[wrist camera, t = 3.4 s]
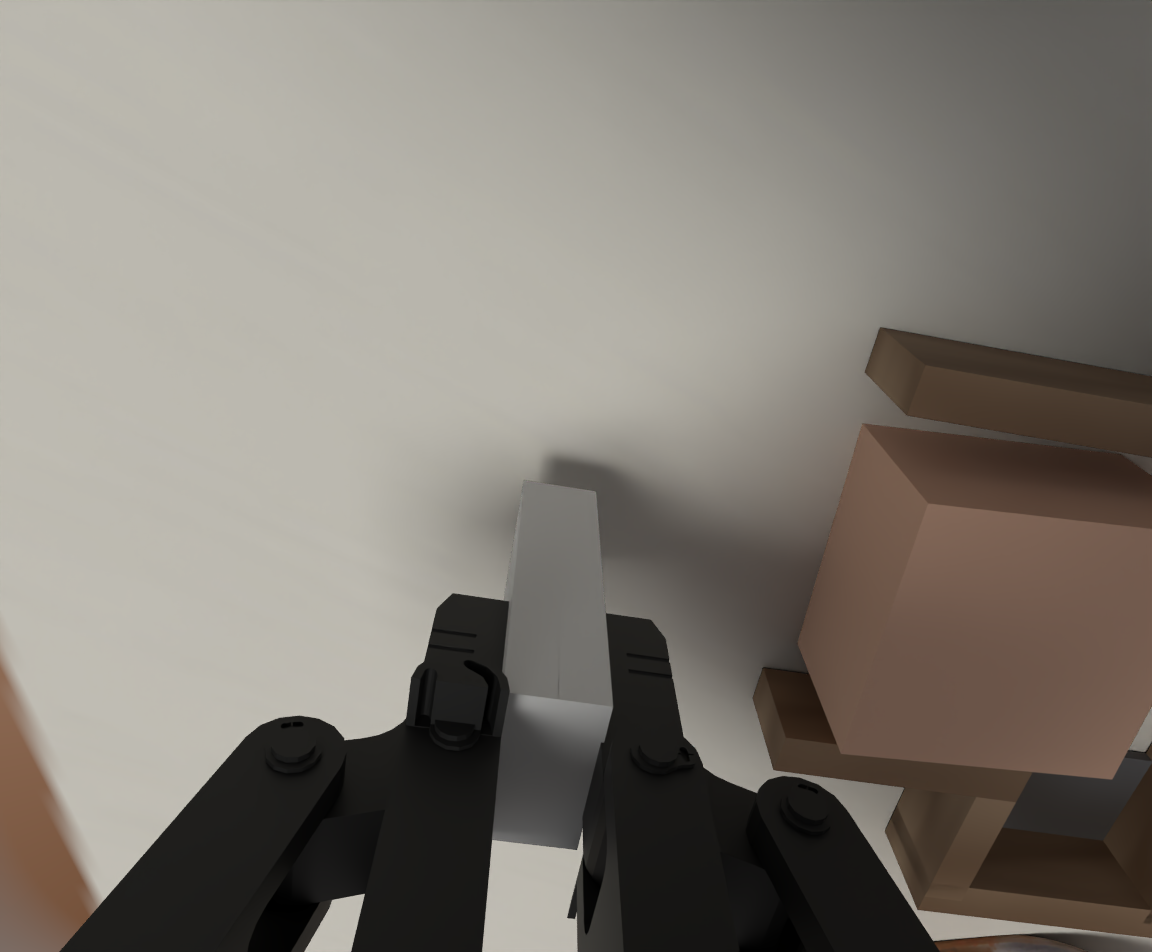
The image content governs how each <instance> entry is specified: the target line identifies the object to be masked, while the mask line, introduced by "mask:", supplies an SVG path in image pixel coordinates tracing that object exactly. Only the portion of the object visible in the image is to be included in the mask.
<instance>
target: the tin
mask: <svg viewBox="0 0 1152 952" xmlns="http://www.w3.org/2000/svg"><path fill="white" fill-rule="evenodd" d="M934 943H935V945H936V946H937V948H938V949H939V951H940V952H1087V951H1085V950H1083V949H1079V948H1077V947H1074V946H1071V945H1068V944H1065V943H1062V942H1058V941H1055V940H1051V939H1045V938H1039V937H1034V936H1026V935H1001V936H989V937H980V938H969V939H959V940H949V941H939V942H934Z"/></svg>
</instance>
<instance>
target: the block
mask: <svg viewBox="0 0 1152 952" xmlns="http://www.w3.org/2000/svg"><path fill="white" fill-rule="evenodd" d="M797 644H798V646H799V649H800V651H801V654H802V656H803V659H804V662H805V664H806V667H807V669H808V672H809V674H810V677H811V679H812V682H813V684H814V687H815V689H816V692H817V694H818V697H819V700H820V702H821V705H822V707H823V710H824V712H825V715H826V717H827V720H828V722H829V725H830V727H831V730H832V732H833V735H834V737H835V740H836V743H837V745H838V748H839V750H840V753H841V754H847V755H858V756H868V757H879V758H890V759H900V760H911V761H921V762H932V763H942V764H953V765H964V766H974V767H985V768H995V769H1006V770H1016V771H1027V772H1038V773H1048V774H1059V775H1069V776H1080V777H1090V778H1101V779H1113V777H1114V775H1115V773H1116V772H1117V770H1118V768H1119V766H1120V764H1121V762H1122V761H1123V759H1124V757H1125V755H1126V753H1127V751H1128V749H1129V748H1130V746H1131V744H1132V742H1133V740H1134V738H1135V736H1136V735H1137V733H1138V731H1139V729H1140V727H1141V725H1142V723H1143V722H1144V720H1145V718H1146V716H1147V714H1148V712H1149V711H1150V709H1151V707H1152V476H1151V475H1150V474H1148V473H1147V472H1145V471H1144V470H1143V469H1141V468H1140V467H1138V466H1137V465H1135V464H1134V463H1133V462H1131V461H1130V460H1128V459H1127V458H1125V457H1124V456H1123V455H1121V454H1114V453H1106V452H1097V451H1089V450H1080V449H1072V448H1064V447H1055V446H1047V445H1038V444H1030V443H1022V442H1013V441H1005V440H996V439H988V438H980V437H971V436H963V435H954V434H946V433H938V432H929V431H921V430H912V429H904V428H896V427H887V426H879V425H870V424H862V427H861V430H860V433H859V437H858V440H857V443H856V447H855V450H854V454H853V457H852V460H851V464H850V467H849V470H848V474H847V477H846V481H845V484H844V487H843V491H842V494H841V497H840V501H839V504H838V508H837V511H836V514H835V518H834V521H833V524H832V528H831V531H830V535H829V538H828V541H827V545H826V548H825V552H824V555H823V558H822V562H821V565H820V568H819V572H818V575H817V579H816V582H815V585H814V589H813V592H812V595H811V599H810V602H809V606H808V609H807V612H806V616H805V619H804V622H803V626H802V629H801V633H800V636H799V639H798V643H797Z"/></svg>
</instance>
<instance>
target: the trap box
mask: <svg viewBox="0 0 1152 952" xmlns="http://www.w3.org/2000/svg"><path fill="white" fill-rule="evenodd" d="M865 373H866V374H867V375H868V376H869V377H870V378H871V379H872V380H873V381H874V382H875V383H876V384H877V385H878V386H879V387H880V389H881V390H882V391H883V392H884V393H885V394H886V395H887V396H888V397H889V398H890V399H891V400H892V401H893V402H894V403H895V404H896V405H897V406H898V407H899V408H900V409H901V410H902V411H903V412H904V413H905V414H906V415H907V416H913V417H919V418H924V419H930V420H936V421H942V422H948V423H954V424H959V425H965V426H971V427H977V428H983V429H988V430H994V431H1000V432H1006V433H1012V434H1018V435H1023V436H1029V437H1035V438H1041V439H1047V440H1052V441H1058V442H1064V443H1070V444H1076V445H1082V446H1087V447H1093V448H1099V449H1105V450H1111V451H1117V452H1122V453H1128V454H1134V455H1140V456H1146V457H1151V458H1152V376H1146V375H1141V374H1135V373H1130V372H1124V371H1119V370H1113V369H1107V368H1102V367H1096V366H1091V365H1085V364H1080V363H1074V362H1069V361H1063V360H1058V359H1052V358H1047V357H1041V356H1035V355H1030V354H1024V353H1019V352H1013V351H1008V350H1002V349H997V348H991V347H986V346H980V345H974V344H969V343H963V342H958V341H952V340H947V339H941V338H936V337H930V336H925V335H919V334H914V333H908V332H902V331H897V330H891V329H886V328H880V330H879V333H878V335H877V338H876V341H875V344H874V347H873V350H872V353H871V356H870V359H869V362H868V365H867V367H866V370H865ZM753 701H754V705H755V708H756V711H757V715H758V718H759V722H760V725H761V729H762V732H763V735H764V739H765V742H766V746H767V749H768V753H769V756H770V759H771V763H772V766H773V770H776V771H784V772H791V773H799V774H806V775H814V776H821V777H829V778H836V779H844V780H851V781H859V782H866V783H874V784H881V785H889V786H897V787H904V788H905V790H904V792H903V794H902V796H901V798H900V800H899V802H898V804H897V807H896V809H895V811H894V813H893V815H892V817H891V819H890V821H889V824H888V826H887V828H886V830H885V832H886V835H887V837H888V840H889V842H890V844H891V847H892V849H893V852H894V854H895V856H896V859H897V861H898V864H899V866H900V868H901V871H902V873H903V876H904V878H905V881H906V883H907V885H908V888H909V890H910V893H911V895H912V897H913V900H914V902H915V905H916V907H917V910H924V911H932V912H941V913H949V914H957V915H966V916H974V917H982V918H990V919H999V920H1007V921H1015V922H1024V923H1032V924H1040V925H1049V926H1057V927H1065V928H1073V929H1082V930H1090V931H1098V932H1107V933H1115V934H1123V935H1131V936H1140V937H1148V938H1152V744H1151V746H1150V748H1149V749H1148V751H1147V752H1146V753H1140V752H1133V751H1127V753H1126V755H1125V757H1124V759H1123V761H1122V762H1121V764H1120V766H1119V768H1118V770H1117V772H1116V773H1115V775H1114V777H1113V779H1101V778H1090V777H1080V776H1069V775H1059V774H1048V773H1038V772H1027V771H1016V770H1006V769H995V768H985V767H974V766H964V765H953V764H942V763H932V762H921V761H911V760H900V759H890V758H879V757H868V756H858V755H847V754H841V753H840V750H839V748H838V745H837V743H836V740H835V737H834V735H833V732H832V730H831V727H830V725H829V722H828V720H827V717H826V715H825V712H824V710H823V707H822V705H821V702H820V700H819V697H818V694H817V692H816V689H815V687H814V684H813V682H812V679H811V677H810V674H803V673H796V672H789V671H782V670H775V669H768V668H763V670H762V673H761V675H760V678H759V681H758V684H757V687H756V690H755V693H754V696H753Z"/></svg>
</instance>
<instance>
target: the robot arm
mask: <svg viewBox="0 0 1152 952" xmlns="http://www.w3.org/2000/svg"><path fill="white" fill-rule="evenodd" d="M582 828H583V857H582V861H581V865H580V869H579V873H578V876H577V880H576V884H575V888H574V892H573V896H572V900H571V904H570V908H569V913H568V917H567V918H572V919H575V917H576V913H577V943H578V952H940V951H939V949H938V948H937V946H936V945H935V943H934V942H933V940H932V939H931V937H930V936H929V934H928V932H927V931H926V929H925V928H924V926H923V925H922V923H921V922H920V920H919V919H918V917H917V916H916V914H915V913H914V911H913V910H912V908H911V907H910V905H909V904H908V902H907V901H906V899H905V898H904V896H903V894H902V893H901V891H900V890H899V888H898V887H897V885H896V884H895V882H894V881H893V879H892V878H891V876H890V875H889V873H888V872H887V870H886V869H885V867H884V866H883V864H882V863H881V861H880V860H879V858H878V856H877V855H876V853H875V852H874V850H873V849H872V847H871V846H870V844H869V843H868V841H867V840H866V838H865V837H864V835H863V834H862V832H861V831H860V829H859V828H858V826H857V825H856V823H855V822H854V820H853V818H852V817H851V815H850V814H849V812H848V811H847V809H846V808H845V807H844V806H843V805H842V804H841V803H840V802H839V800H838V799H837V798H836V797H835V796H834V795H832V794H831V793H829V792H828V791H827V790H825V789H824V788H822V787H821V786H819V785H818V784H815V783H812V782H810V781H807V780H804V779H802V778H797V777H787V776H781V777H777V778H773V779H769V780H768V781H766V782H765V783H764V784H763V785H762V786H761V787H760V788H759V790H758V793H755V792H753V791H750V790H747V789H745V788H742V787H740V786H737V785H734V784H732V783H729V782H727V781H725V780H723V779H721V778H719V777H717V776H715V775H713V774H712V773H711V772H709V771H708V770H706V769H705V768H703V764H702V761H701V759H700V757H699V755H698V752H697V750H696V749H695V748H694V747H693V746H692V745H691V744H690V743H689V742H688V741H687V740H686V739H685V738H684V737H683V732H682V726H681V721H680V715H679V710H678V704H677V699H676V693H675V688H674V682H673V679H672V671H671V666H670V663H669V655H668V649H667V644H666V639H665V638H664V636H663V635H662V634H661V632H660V631H659V630H658V628H657V627H656V626H655V624H654V623H653V622H652V620H649V619H642V618H635V617H628V616H621V615H614V614H607V613H606V610H605V598H604V585H603V572H602V560H601V547H600V535H599V522H598V509H597V497H596V491H590V490H584V489H578V488H571V487H565V486H559V485H552V484H546V483H539V482H533V481H527V480H524V482H523V488H522V494H521V499H520V505H519V511H518V517H517V523H516V529H515V534H514V540H513V546H512V552H511V558H510V564H509V569H508V575H507V581H506V587H505V593H504V601H503V600H496V599H489V598H482V597H475V596H468V595H461V594H454V593H453V594H452V595H451V596H449V597H448V598H447V599H446V600H445V601H444V602H443V603H442V604H441V605H440V606H439V607H438V608H437V610H436V614H435V618H434V623H433V627H432V632H431V635H430V639H429V644H428V648H427V652H426V656H425V660H424V662H423V663H422V664H420V665H419V666H418V667H417V668H416V670H415V672H414V674H413V675H412V677H411V684H410V692H409V700H408V709H407V717H406V719H405V720H404V721H403V722H402V723H401V724H399V725H398V726H397V727H395V728H394V729H392V730H390V731H387V732H385V733H383V734H380V735H377V736H372V737H367V738H361V739H353V740H345V741H344V738H343V736H342V735H341V734H340V733H339V732H338V730H337V729H336V728H335V727H334V726H332V725H330V724H328V723H326V722H324V721H322V720H320V719H317V718H311V717H304V716H292V717H283V718H278V719H275V720H273V721H270V722H267V723H265V724H262V725H260V726H259V727H258V728H256V729H255V730H254V731H253V732H251V733H250V734H249V735H248V736H246V738H245V739H244V740H243V741H242V742H241V743H240V744H239V746H238V747H237V748H236V749H235V750H234V751H233V752H232V754H231V755H230V756H229V757H228V758H227V759H226V761H225V762H224V763H223V764H222V765H221V766H220V767H219V769H218V770H217V771H216V772H215V773H214V774H213V776H212V777H211V778H210V779H209V780H208V781H207V782H206V784H205V785H204V786H203V787H202V788H201V789H200V790H199V792H198V793H197V794H196V795H195V796H194V797H193V799H192V800H191V801H190V802H189V803H188V804H187V805H186V807H185V808H184V809H183V810H182V811H181V812H180V814H179V815H178V816H177V817H176V818H175V819H174V820H173V822H172V823H171V824H170V825H169V826H168V827H167V828H166V830H165V831H164V832H163V833H162V834H161V835H160V837H159V838H158V839H157V840H156V841H155V842H154V843H153V845H152V846H151V847H150V848H149V849H148V850H147V852H146V853H145V854H144V855H143V856H142V857H141V858H140V860H139V861H138V862H137V863H136V864H135V865H134V866H133V868H132V869H131V870H130V871H129V872H128V873H127V875H126V876H125V877H124V878H123V879H122V880H121V881H120V883H119V884H118V885H117V886H116V887H115V888H114V890H113V891H112V892H111V893H110V894H109V895H108V896H107V898H106V899H105V900H104V901H103V902H102V903H101V904H100V906H99V907H98V908H97V909H96V910H95V911H94V913H93V914H92V915H91V916H90V917H89V918H88V919H87V921H86V922H85V923H84V924H83V925H82V926H81V927H80V929H79V930H78V931H77V932H76V933H75V935H74V936H73V937H72V938H71V939H70V940H69V941H68V943H67V944H66V945H65V946H64V947H63V948H62V950H61V951H60V952H304V951H305V949H306V948H307V946H308V944H309V943H310V941H311V939H312V937H313V936H314V934H315V932H316V930H317V929H318V927H319V925H320V923H321V922H322V920H323V918H324V916H325V915H326V913H327V911H328V909H329V907H330V904H331V901H332V900H334V899H339V898H344V897H349V896H355V895H360V894H365V896H364V900H363V905H362V909H361V913H360V917H359V921H358V926H357V930H356V934H355V938H354V942H353V946H352V951H351V952H482V946H483V934H484V923H485V912H486V901H487V890H488V879H489V868H490V857H491V846H492V840H498V841H507V842H515V843H523V844H532V845H540V846H549V847H557V848H566V849H574V850H577V848H578V844H579V840H580V836H581V832H582Z"/></svg>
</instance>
